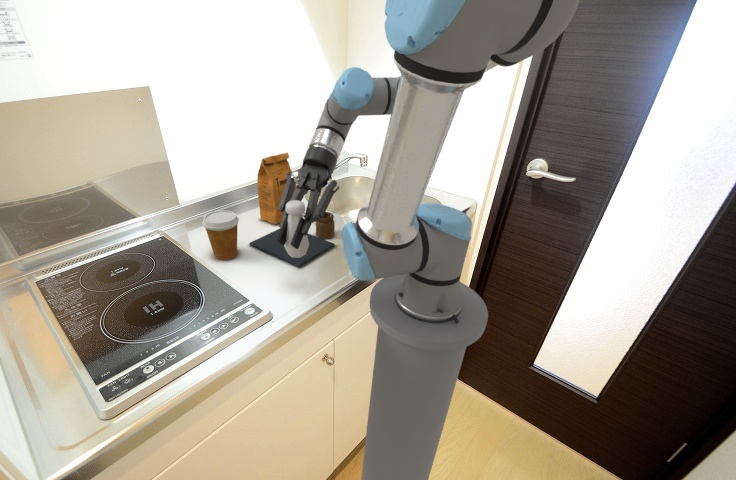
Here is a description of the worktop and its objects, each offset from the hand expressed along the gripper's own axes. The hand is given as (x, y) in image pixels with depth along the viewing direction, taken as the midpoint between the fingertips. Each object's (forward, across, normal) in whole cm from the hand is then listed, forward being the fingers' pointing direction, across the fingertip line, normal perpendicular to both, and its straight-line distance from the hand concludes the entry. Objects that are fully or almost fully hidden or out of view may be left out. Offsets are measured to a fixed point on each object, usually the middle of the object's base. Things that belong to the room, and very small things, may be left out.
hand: (287, 244), depth 82 cm
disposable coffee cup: (+5, +27, -15) cm, 31 cm away
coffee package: (-16, +28, -35) cm, 48 cm away
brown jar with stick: (-13, +8, -33) cm, 36 cm away
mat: (-5, +13, -25) cm, 29 cm away
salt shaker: (0, 0, -6) cm, 6 cm away
